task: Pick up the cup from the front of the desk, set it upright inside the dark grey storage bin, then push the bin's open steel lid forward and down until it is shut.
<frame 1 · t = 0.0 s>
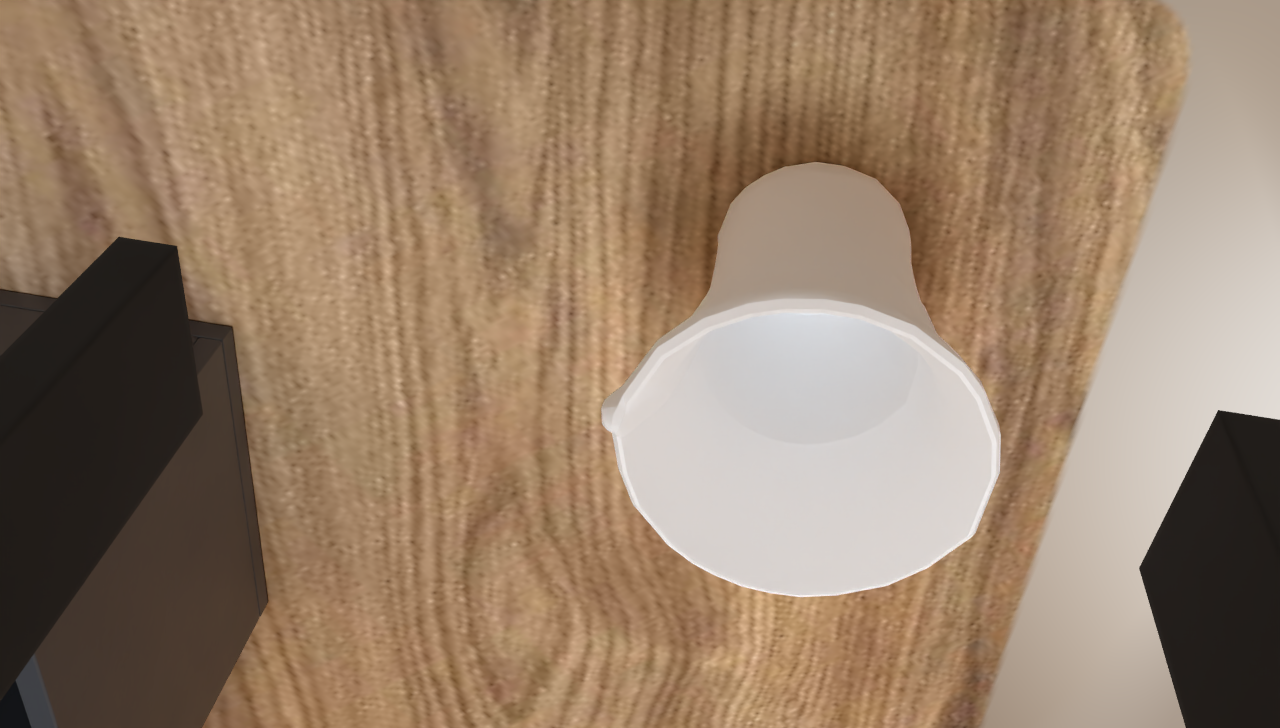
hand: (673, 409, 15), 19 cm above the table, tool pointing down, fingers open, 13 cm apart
cup: (804, 247, 35), on the table
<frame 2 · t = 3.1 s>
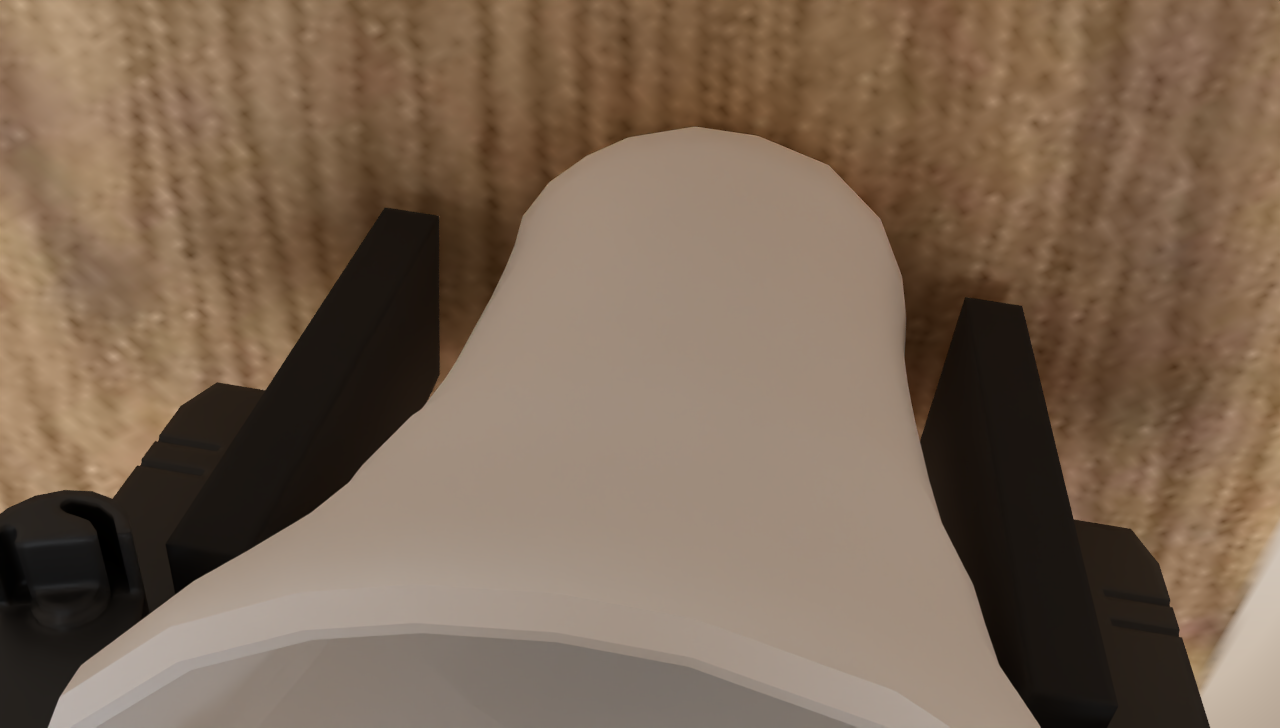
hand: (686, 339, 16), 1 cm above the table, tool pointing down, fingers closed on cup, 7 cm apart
cup: (688, 306, 17), on the table, touching gripper
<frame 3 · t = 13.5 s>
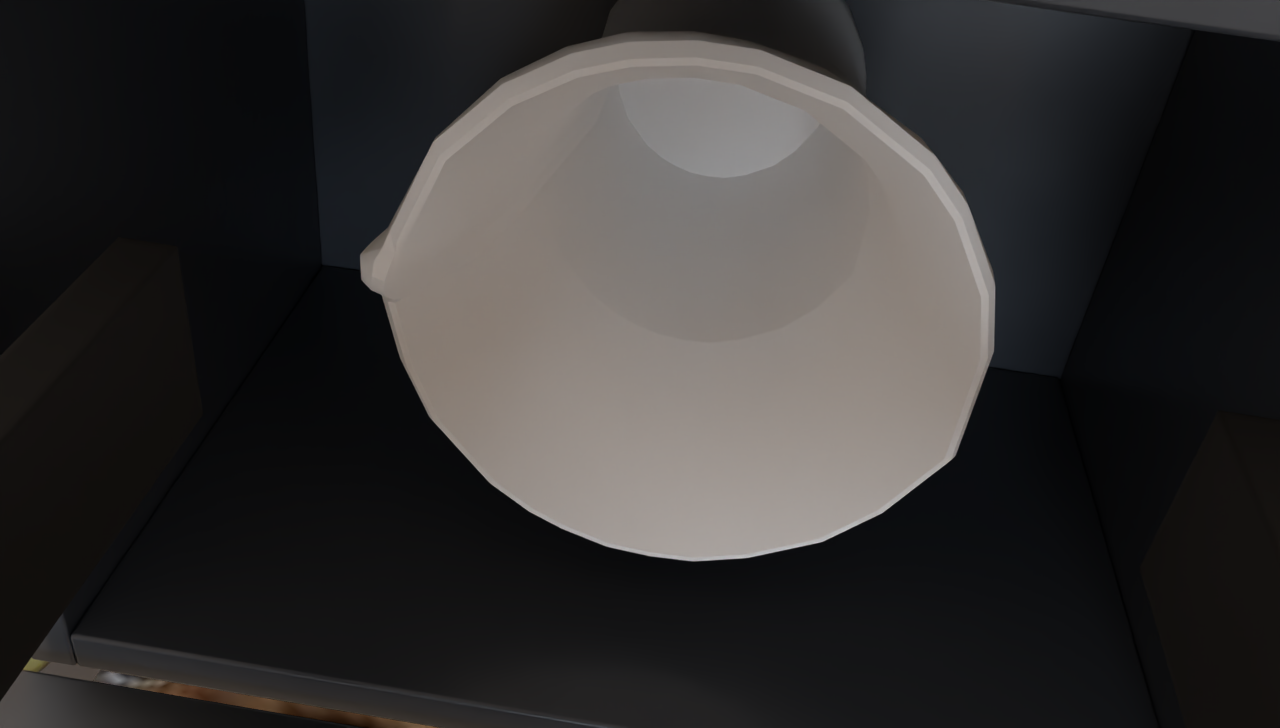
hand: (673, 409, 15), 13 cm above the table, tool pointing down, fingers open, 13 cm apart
dark grey storage bin: (723, 70, 25), on the table
cup: (718, 82, 25), point 1 cm above the table, touching dark grey storage bin
spray bottle: (81, 555, 37), on the table
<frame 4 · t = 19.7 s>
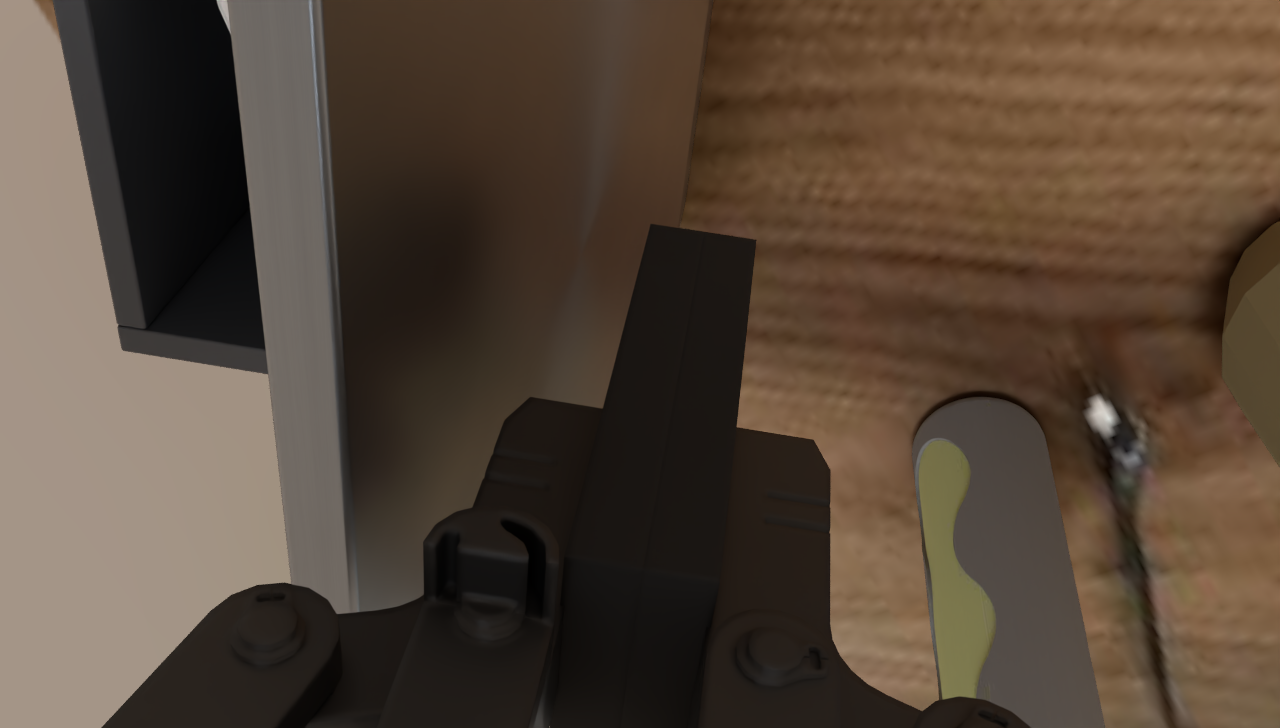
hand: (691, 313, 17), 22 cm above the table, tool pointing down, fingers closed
lid: (557, 248, 18), point 20 cm above the table, hinge at 80.9°, touching gripper
spray bottle: (976, 437, 45), on the table
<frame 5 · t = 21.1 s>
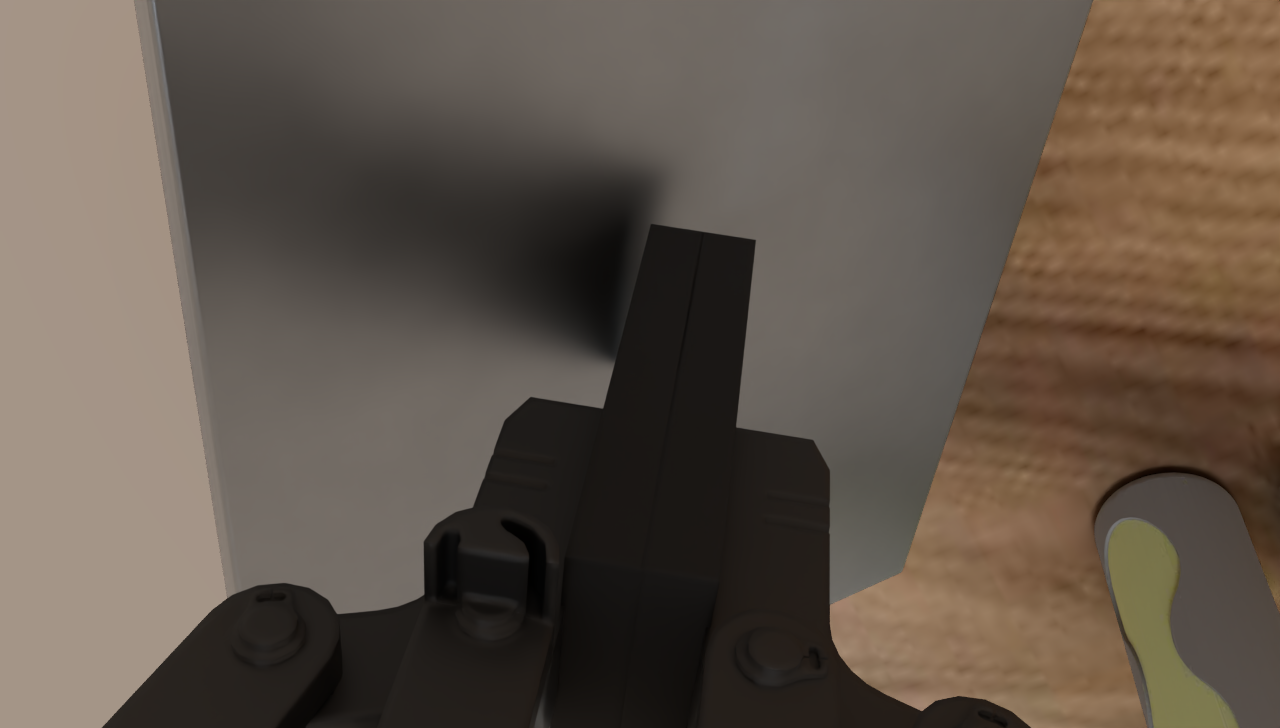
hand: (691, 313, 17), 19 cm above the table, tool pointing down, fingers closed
lid: (685, 270, 18), point 18 cm above the table, hinge at 39.7°, touching gripper
spray bottle: (1161, 512, 42), on the table
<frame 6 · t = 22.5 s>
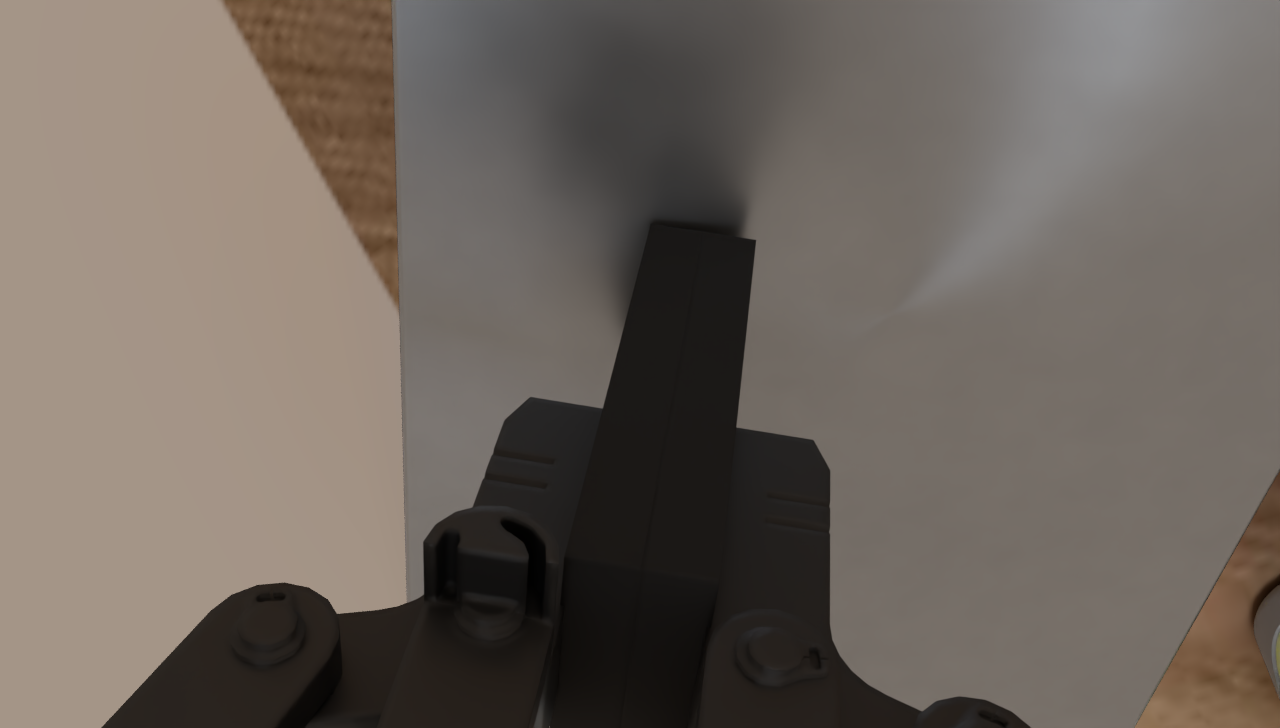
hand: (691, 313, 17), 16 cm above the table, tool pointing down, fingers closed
lid: (885, 299, 18), point 14 cm above the table, hinge at 8.9°, touching gripper
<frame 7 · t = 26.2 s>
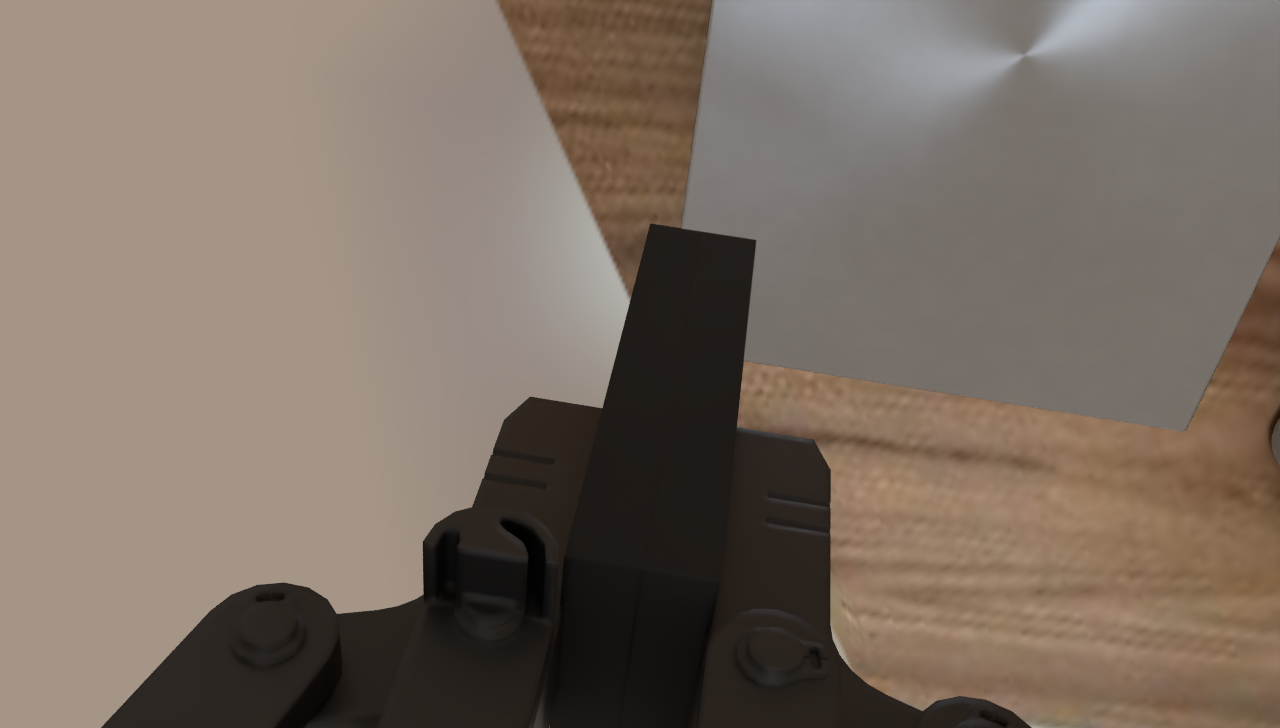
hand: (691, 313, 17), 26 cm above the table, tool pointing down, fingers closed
lid: (1022, 49, 27), point 13 cm above the table, hinge at -0.2°, touching dark grey storage bin
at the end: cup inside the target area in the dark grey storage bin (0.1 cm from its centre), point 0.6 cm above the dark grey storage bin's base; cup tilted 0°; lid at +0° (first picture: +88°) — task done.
